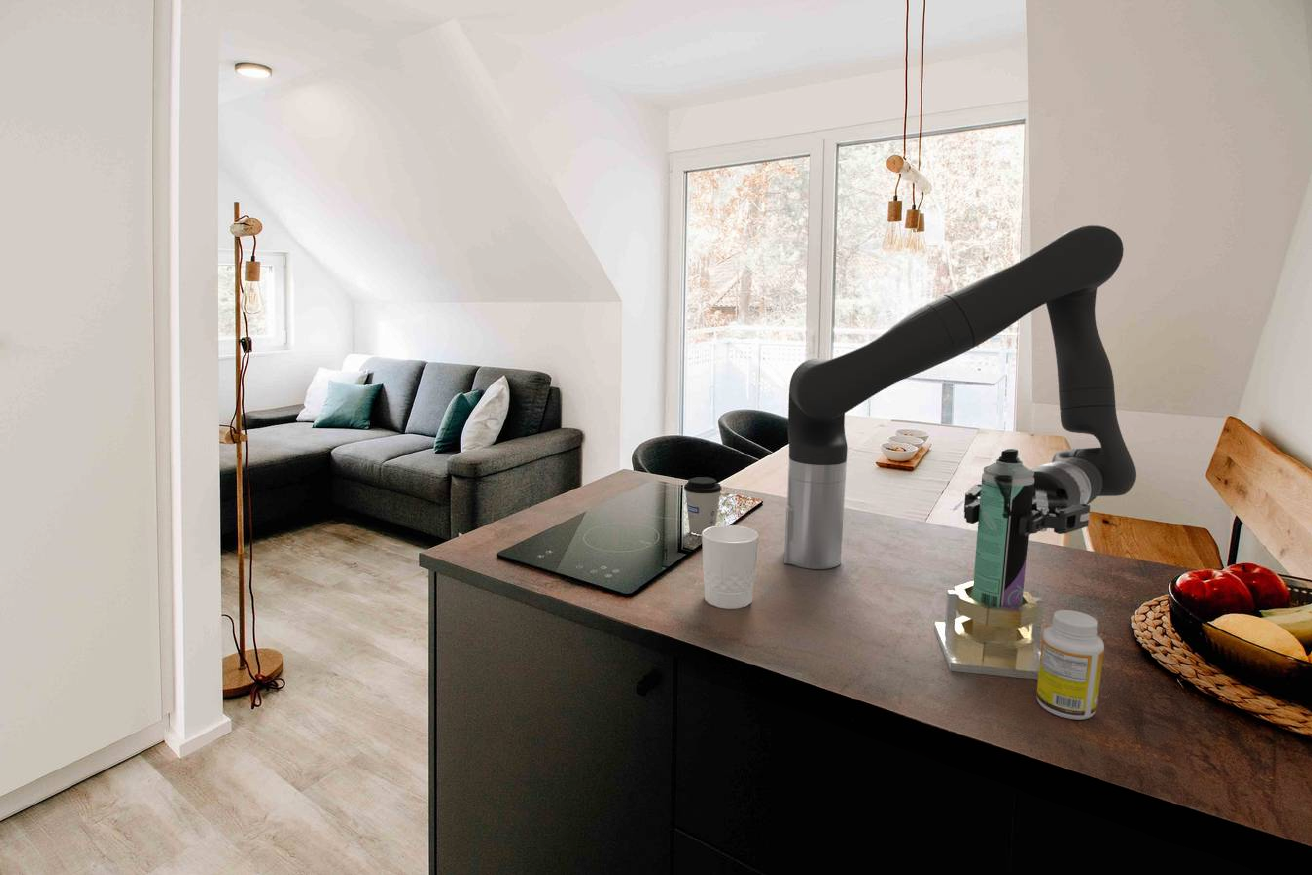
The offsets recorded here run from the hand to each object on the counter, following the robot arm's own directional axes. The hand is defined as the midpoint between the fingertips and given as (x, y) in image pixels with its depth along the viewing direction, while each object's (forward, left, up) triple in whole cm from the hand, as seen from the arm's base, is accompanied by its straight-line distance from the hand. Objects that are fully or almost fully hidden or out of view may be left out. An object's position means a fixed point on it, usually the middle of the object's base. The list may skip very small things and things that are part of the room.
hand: (995, 521), depth 82 cm
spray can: (+2, +2, -12) cm, 12 cm away
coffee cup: (-40, +40, -18) cm, 59 cm away
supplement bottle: (+6, -9, -18) cm, 21 cm away
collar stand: (+1, +2, -17) cm, 18 cm away
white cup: (-32, +11, -18) cm, 38 cm away
